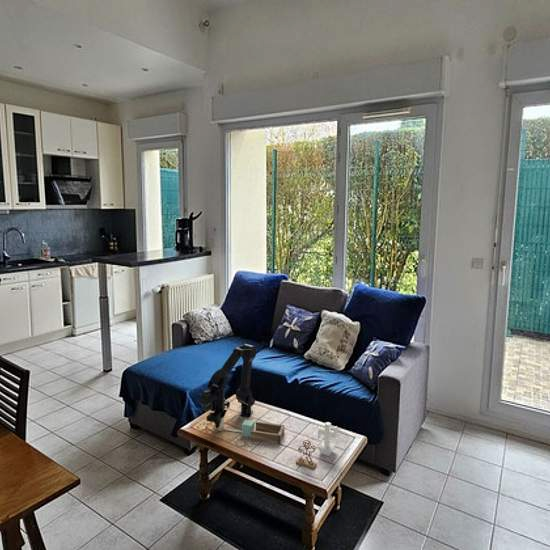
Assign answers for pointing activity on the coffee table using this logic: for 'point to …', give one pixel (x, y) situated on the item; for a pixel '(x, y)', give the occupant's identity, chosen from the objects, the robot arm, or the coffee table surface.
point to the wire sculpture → (306, 462)
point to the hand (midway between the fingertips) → (218, 426)
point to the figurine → (327, 439)
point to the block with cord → (246, 427)
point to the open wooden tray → (266, 436)
